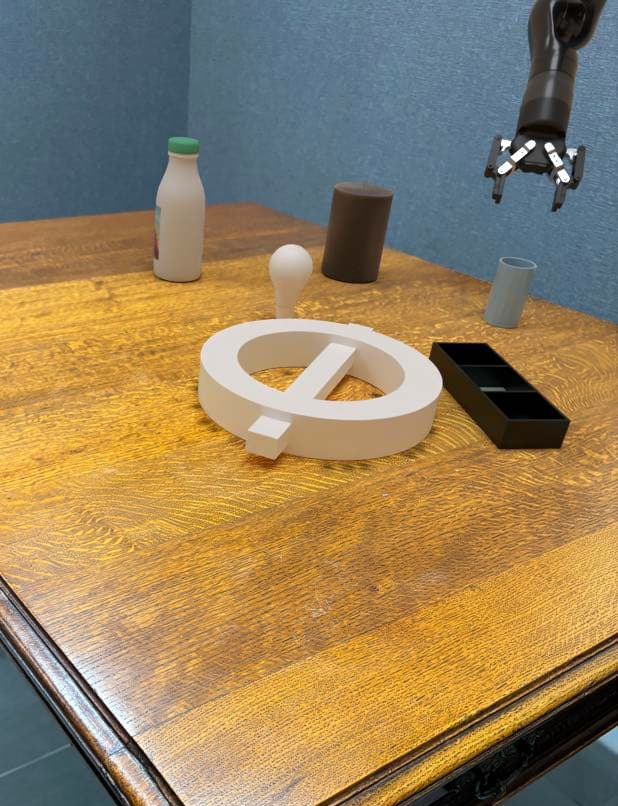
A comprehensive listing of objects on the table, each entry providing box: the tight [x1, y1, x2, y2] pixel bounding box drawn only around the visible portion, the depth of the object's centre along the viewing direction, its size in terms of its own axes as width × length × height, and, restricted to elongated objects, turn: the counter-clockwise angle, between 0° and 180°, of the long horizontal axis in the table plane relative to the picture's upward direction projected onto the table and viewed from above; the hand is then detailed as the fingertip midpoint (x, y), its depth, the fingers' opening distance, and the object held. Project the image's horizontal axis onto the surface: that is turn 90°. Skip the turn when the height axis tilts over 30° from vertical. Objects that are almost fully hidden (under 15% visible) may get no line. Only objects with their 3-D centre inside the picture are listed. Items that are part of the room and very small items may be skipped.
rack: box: [428, 341, 572, 450], centre depth 99 cm, size 8×22×4 cm, turn 9°
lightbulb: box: [268, 243, 314, 319], centre depth 114 cm, size 6×6×11 cm
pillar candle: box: [320, 179, 394, 284], centre depth 134 cm, size 10×10×15 cm
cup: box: [482, 256, 538, 329], centre depth 122 cm, size 5×5×9 cm
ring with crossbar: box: [197, 318, 443, 461], centre depth 96 cm, size 28×28×5 cm
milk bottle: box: [152, 136, 206, 283], centre depth 125 cm, size 8×8×20 cm
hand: (526, 204), depth 125 cm, fingers open, 8 cm apart
